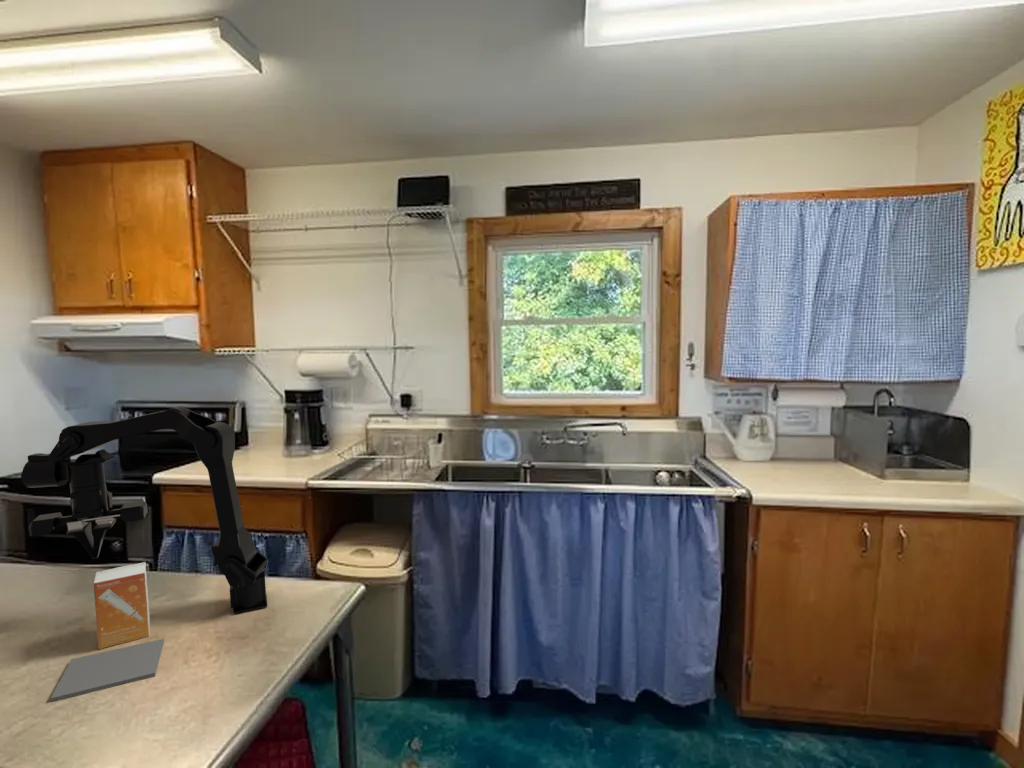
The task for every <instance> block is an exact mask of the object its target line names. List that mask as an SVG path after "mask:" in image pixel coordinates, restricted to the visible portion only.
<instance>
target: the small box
mask: <svg viewBox="0 0 1024 768" xmlns="http://www.w3.org/2000/svg"><path fill="white" fill-rule="evenodd" d="M147 579H148V577H147V562H146V561H142V562H140V563H139V562H138V563H135V564H127V565H123V566H118V567H113V568H109V569H105V570H99V571H96V572H95V577H94V581H93V595H94V606H95V607H94V608H95V620H96V622H95V623H96V624H95V625H96V633H97V634H96V635H97V636H96V637H97V644H98V649H99V650H101V649H104V648H108V647H111V646H116V645H120V644H123V643H124V644H125V643H128V642H131V641H135V640H140V639H144V638H149V637H150V634H151V633H150V632H151V631H150V630H151V629H150V623H151V620H150V605H149V592H148V589H149V588H148V580H147Z"/></svg>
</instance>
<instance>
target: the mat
mask: <svg viewBox="0 0 1024 768" xmlns="http://www.w3.org/2000/svg"><path fill="white" fill-rule="evenodd" d="M164 643H165V639H164V638H161V639H155V640H151V641H147V642H142V643H138V644H133V645H130V646H123V647H119V648H115V649H110V650H106V651H103V652H98V653H93V654H89V655H84V656H80V657H76V658H72V659H70V660H69V663H68V665H67V667H66V669H65V670H64V672H63V674H62V676H61V678H60V680H59V681H58V683H57V685H56V687H55V689H54V690H53V693H52V695H51V697H50V703H52V702H56V701H60V700H65V699H68V698H73V697H77V696H81V695H85V694H88V693H92V692H97V691H101V690H104V689H108V688H112V687H116V686H120V685H121V686H122V685H125V684H129V683H132V682H133V683H134V682H137V681H141V680H145V679H148V678H152V677H156V674H157V669H158V665H159V662H160V657H161V654H162V651H163V647H164Z"/></svg>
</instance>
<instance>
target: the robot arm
mask: <svg viewBox="0 0 1024 768" xmlns="http://www.w3.org/2000/svg"><path fill="white" fill-rule="evenodd" d="M169 428H170V429H172V430H173V431H174V432H176V433H177V434H178V435H179V436H180V437H181V438H182V439H184V440H185V441H187V442H189V443H190V444H192V445H193V447H194V449H195V452H196V454H197V456H198V459H199V460H200V462H202V464H203V465H204V467H205V468H206V469H207V472H208V478H209V482H210V488H211V492H212V497H213V502H214V509H215V514H216V518H217V520H216V521H217V524H218V529H219V539H218V540H217V542H215V543H214V544H213V545H212V546H211V548H210V549H211V552H212V556H213V558H214V563H213V566H214V567H216V566H217V569H218V571H219V572H220V574H221V575H224V576H225V579H226V581H227V583H228V585H229V599H230V600H229V601H230V602H229V603H230V608H231V609H232V611H233V614H234V615H236V614H241V613H245V612H250V611H254V610H255V611H256V610H259V609H264V608H265V609H266V608H267V607H268V596H267V591H266V590H267V589H266V588H267V587H266V574H265V571H264V570H265V569H267V567H268V563H269V558H267V557H266V556H265V555H264V554H262V553H261V552H260V551H259V550H257V546H256V544H255V542H254V539H253V537H252V535H251V534H250V533H249V531H248V530H247V528H246V527H245V524H244V521H243V514H242V509H241V505H240V504H241V503H240V497H239V494H238V493H239V492H238V488H237V484H236V478H235V473H234V467H233V460H234V453H235V450H236V433H235V430H234V428H233V427H232V426H230V425H229V424H227V422H222V421H221V422H219V421H216V420H215V419H213V418H211V417H208V416H206V415H202V414H200V413H197V412H195V411H193V410H191V409H189V408H188V407H186V406H183V405H181V406H179V405H178V406H174V407H170V408H168V409H166V410H161V411H157V412H152V413H148V414H144V415H139V416H135V417H134V416H133V417H130V418H125V419H120V420H99V421H98V420H96V421H95V420H94V421H86V422H83V423H79V424H74V425H69V426H67V427H64V428H63V429H62V430H61V432H60V433H59V435H58V441H57V443H56V444H55V446H54V447H53V448H52V449H51V451H50V453H41V452H40V453H33V454H29V455H28V456H27V462H26V463H25V464H24V466H23V467H22V471H21V472H22V473H20V479H21V482H22V484H23V485H24V486H25V487H26V488H30V489H32V488H35V489H36V488H48V487H63V486H65V485H67V484H68V482H69V490H70V492H69V493H70V494H69V499H70V500H69V501H70V502H69V503H70V507H71V509H72V513H71V515H64V516H63V514H62V512H53V513H46V514H40V515H38V516H36V517H35V518H34V519H33V520H32V521H31V522H30V523H29V524H28V534H29V537H37V536H43V535H49V534H51V532H52V531H54V529H55V528H57V527H58V528H60V527H66V526H67V531H66V535H68V536H70V535H72V536H73V537H74V538H75V539H77V540H78V542H79V543H80V544H81V545H82V546H83V548H84V549H85V550H86V552H87V553H88V555H89V556H90V557H91V559H92V560H94V559H98V558H99V555H100V553H101V548H102V546H103V542H104V539H105V535H106V533H107V532H108V530H110V529H112V528H113V526H114V525H115V524H116V522H117V519H120V520H121V521H123V522H125V523H131V522H135V521H141V520H145V519H146V516H147V514H148V512H149V511H148V504H147V502H146V501H144V500H140V501H131V502H125V503H123V505H121V508H114V509H111V508H113V492H111V491H109V490H108V489H107V488H108V487H107V484H106V475H105V467H104V463H106V462H109V461H112V460H114V459H115V457H116V456H115V455H113V454H111V453H110V452H108V451H107V450H106V449H105V448H104V449H100V450H97V451H96V452H95V453H86V452H89V451H92V450H94V449H98V448H101V447H103V446H106V445H108V444H111V443H113V442H115V441H117V440H119V439H124V438H129V437H134V436H138V435H141V434H147V433H151V432H155V431H160V430H164V429H169ZM75 456H78V457H77V458H72V457H75ZM92 522H93V523H94V522H95V524H96V525H95V526H94V528H93V530H92ZM92 532H93V533H92Z"/></svg>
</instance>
